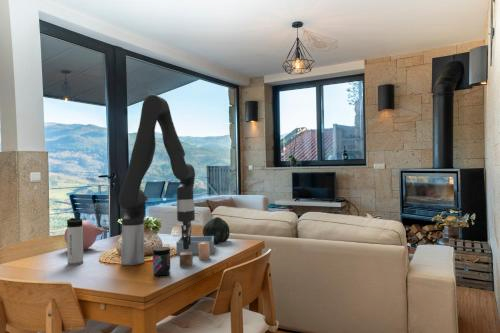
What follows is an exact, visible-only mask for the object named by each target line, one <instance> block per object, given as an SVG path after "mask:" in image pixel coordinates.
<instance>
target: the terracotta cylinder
mask: <svg viewBox="0 0 500 333" xmlns="http://www.w3.org/2000/svg"><path fill="white" fill-rule="evenodd" d="M198 252H199V254H198V260H201V261H203V260H204V261H205V260H209V259H210V253H209V243H208V242H201V243H198Z"/></svg>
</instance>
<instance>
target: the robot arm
mask: <svg viewBox="0 0 500 333" xmlns="http://www.w3.org/2000/svg"><path fill="white" fill-rule="evenodd" d="M157 123H158V125H159V128H160V130H161V135H162V142H163V146H164V149H165V150H166V153H167V156H168V158H169V161H170V162H169V163H170V167H171V171H172V174H173V175H174V177H175V178H176V179H177V180H179V186H178V187H177V188H176V220H177V221H178V222H180V223H181V222H182V225H181V226H180V227H181V228H180V229H181V237H182V240H183V249H184V250H185V249H189V245H190V244H191V237H192V224H191V223H192V222H193V221H195V219H196V213H195V212H196V211H195V200H194V185H195V178H196V173H195V172H196V171H195V168H194V166H193V165H192V164H189V163H186V160H185V156H186V152H185V150H184V146H183V145H182V142H181V140H180V138H179V136H178V133H177V130H176V127H175V125H174V122H173V118H172V114H171V109H170V105H169V103H168V102H167V100H166V99H165V98H163V97H162V96H159V95H156V94H149V95H147V96H146V97H145V98H144V100H143V102H142V107H141V112H140V119H139V125H138V129H137V133H136V137H135V140H134V142H133V143H134V144H133V147H132V151H131V157H130V159H129V163H128V167H127V171H126V175H125V179H124V181H123V185H122V187H121V189H120V192H119V195H118V203H119V206H120V207H121V208H122V209H123V210H125V213H124V216H123V217H122V218H121V242H120V265H124V266H135V265H136V266H137V265H140V264H143V263H144V262H145V232H144V230H145V228H144V227H145V226H144V225H145V223H144V222H145V221H144V220H145V217H146V195H145V192H144V191H143V190H142V189H141V185H142V181H143V179H144V177H145V176H146V173H147V172H148V170H149V168H150V167H151V164H152V162H153V159H154V156H155V152H156V148H157V147H156V126H157Z"/></svg>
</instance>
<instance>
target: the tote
mask: <svg viewBox="0 0 500 333" xmlns="http://www.w3.org/2000/svg"><path fill="white" fill-rule="evenodd" d="M190 237H191V244H190V245H189V249H185V250H184V249H183V240H182V236H179V238H178V239H177V240H176V246H175V247H176V255H180V253H181V252H193V255H199V252H198V243H201V242H208V243H209V254H214V251H215V250H214V249H215V243H214V236H204V235H202V236H190Z"/></svg>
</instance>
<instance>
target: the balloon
mask: <svg viewBox="0 0 500 333" xmlns="http://www.w3.org/2000/svg"><path fill="white" fill-rule="evenodd" d="M82 226H83V251H84V250H87V249H89V248H91V247H92V246H94V243H95V242H96V240H97V238H98V237H99V236H100V235H103V233H106V232H107V230H106V228H105V229H104V228H103V227H102V226H101V227H98V226H96V225H94V224H93V223H92V222H90V221H89V220H84V219H82ZM64 241H65V244H66V245H67V228H66V229H65V232H64Z"/></svg>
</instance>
